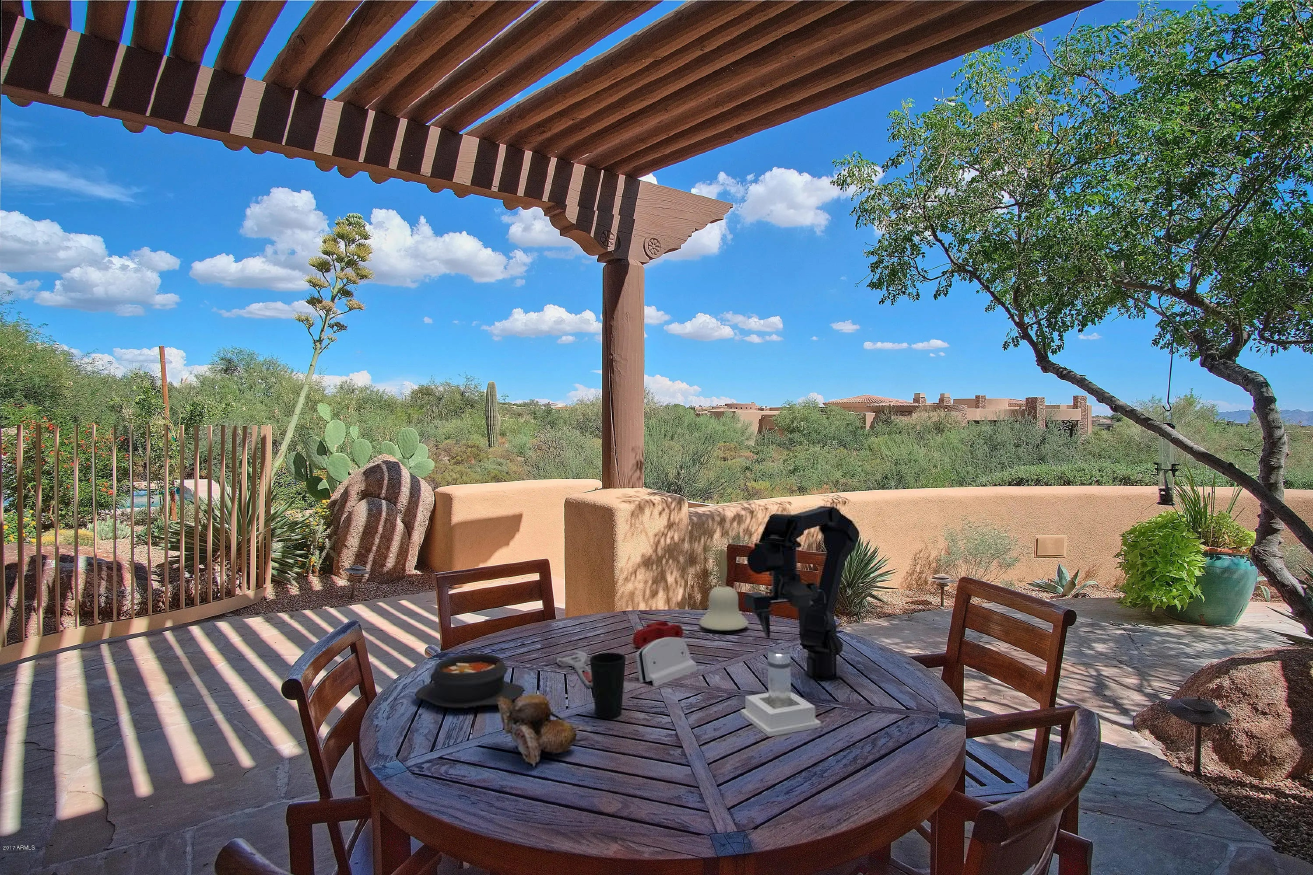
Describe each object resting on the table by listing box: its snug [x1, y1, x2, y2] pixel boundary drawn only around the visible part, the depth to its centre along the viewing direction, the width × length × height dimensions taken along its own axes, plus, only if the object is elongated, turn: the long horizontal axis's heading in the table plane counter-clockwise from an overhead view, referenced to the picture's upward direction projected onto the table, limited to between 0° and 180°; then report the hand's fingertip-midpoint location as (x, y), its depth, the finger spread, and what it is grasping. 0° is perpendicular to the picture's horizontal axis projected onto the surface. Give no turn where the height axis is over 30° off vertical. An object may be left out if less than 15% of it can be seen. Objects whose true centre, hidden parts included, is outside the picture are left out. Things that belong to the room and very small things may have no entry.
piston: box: [766, 649, 792, 709], centre depth 142 cm, size 5×5×13 cm
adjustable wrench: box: [556, 650, 593, 689], centre depth 175 cm, size 8×26×2 cm, turn 13°
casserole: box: [414, 653, 525, 709], centre depth 156 cm, size 25×19×8 cm
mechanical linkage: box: [632, 620, 684, 649], centre depth 199 cm, size 16×7×5 cm, turn 136°
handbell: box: [698, 548, 749, 631], centre depth 214 cm, size 15×15×25 cm
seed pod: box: [497, 693, 590, 767], centre depth 130 cm, size 13×16×15 cm
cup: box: [589, 652, 626, 720], centre depth 147 cm, size 8×8×12 cm
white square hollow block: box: [739, 691, 822, 738], centre depth 142 cm, size 12×12×4 cm
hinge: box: [635, 637, 699, 687], centre depth 172 cm, size 17×5×10 cm, turn 137°
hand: (785, 635), depth 159 cm, fingers open, 9 cm apart
